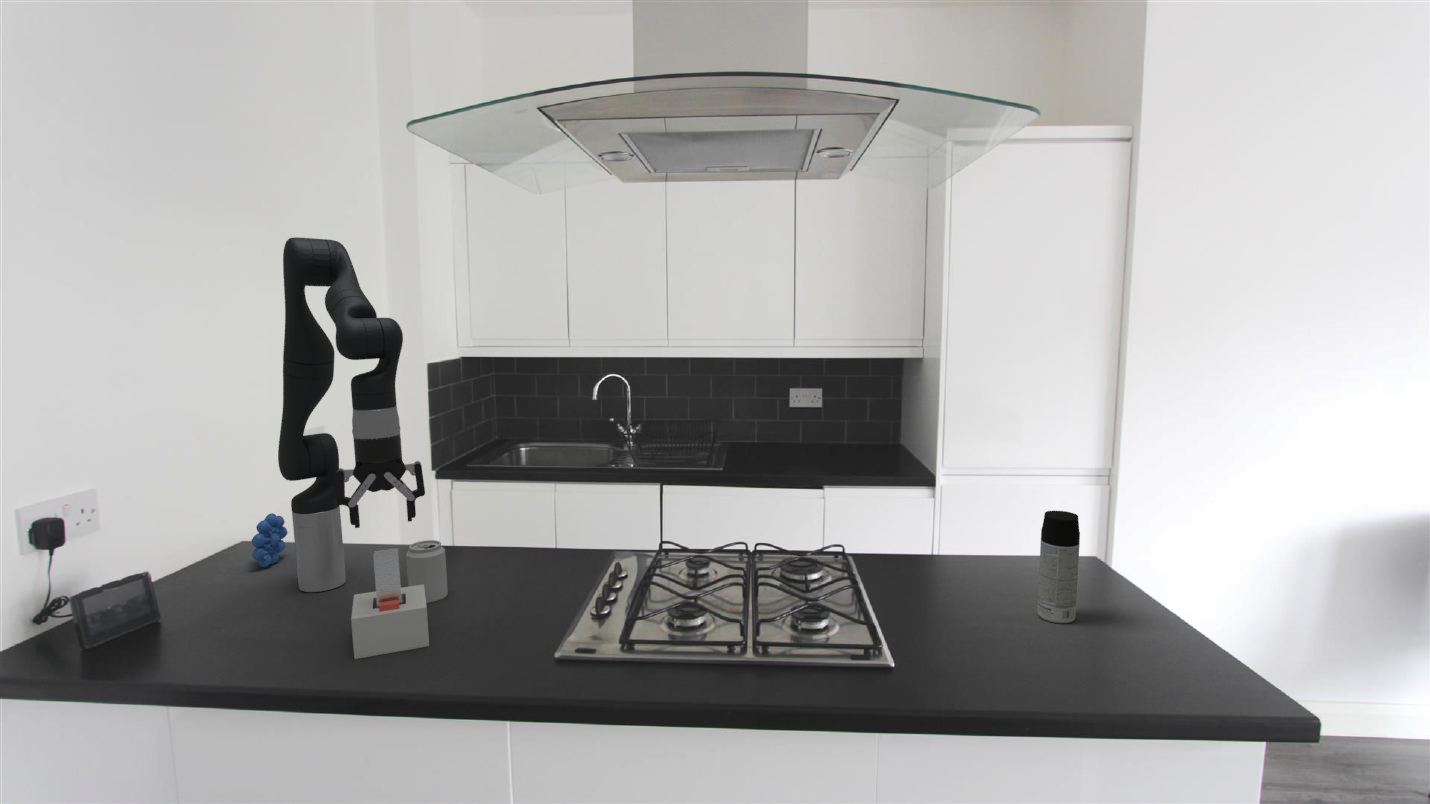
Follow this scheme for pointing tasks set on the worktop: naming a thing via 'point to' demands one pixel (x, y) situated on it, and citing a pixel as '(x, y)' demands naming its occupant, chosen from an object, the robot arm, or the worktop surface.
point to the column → (387, 576)
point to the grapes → (269, 540)
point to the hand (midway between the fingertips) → (383, 523)
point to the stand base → (389, 623)
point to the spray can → (1058, 567)
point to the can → (428, 568)
